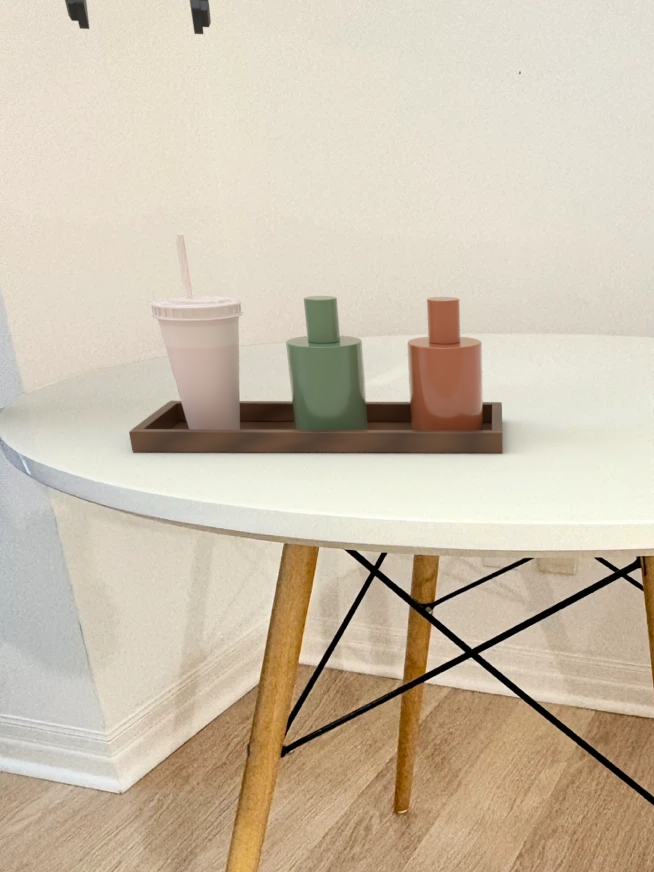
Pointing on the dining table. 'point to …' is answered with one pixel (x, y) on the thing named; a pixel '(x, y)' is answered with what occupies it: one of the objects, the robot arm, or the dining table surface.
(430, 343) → the ceramic bottles
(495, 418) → the tray
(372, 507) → the dining table surface
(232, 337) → the smoothie
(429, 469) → the dining table surface
